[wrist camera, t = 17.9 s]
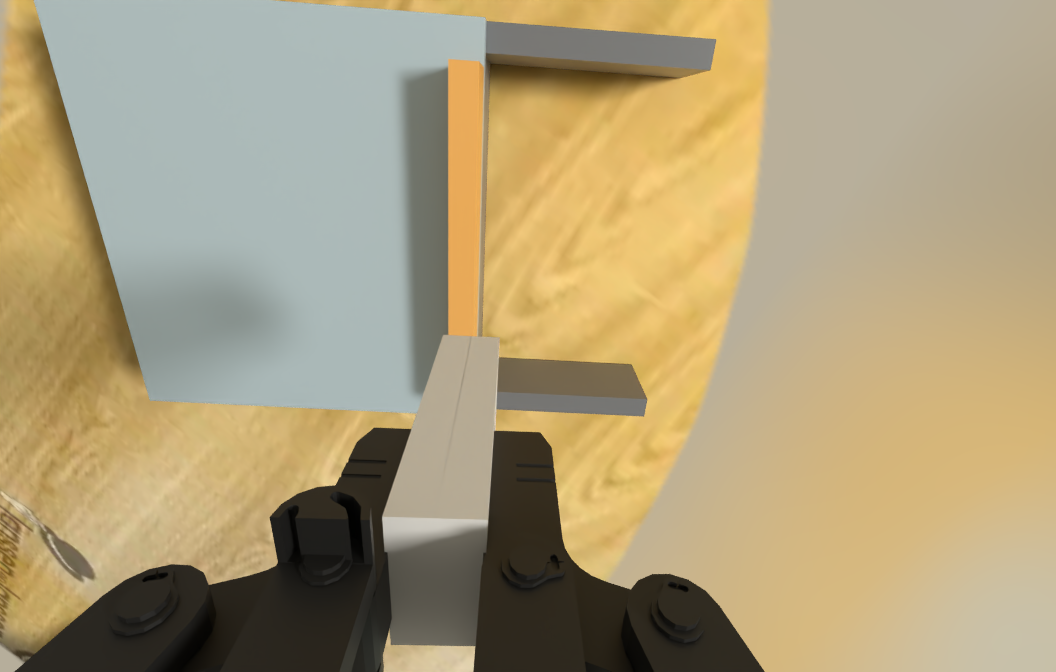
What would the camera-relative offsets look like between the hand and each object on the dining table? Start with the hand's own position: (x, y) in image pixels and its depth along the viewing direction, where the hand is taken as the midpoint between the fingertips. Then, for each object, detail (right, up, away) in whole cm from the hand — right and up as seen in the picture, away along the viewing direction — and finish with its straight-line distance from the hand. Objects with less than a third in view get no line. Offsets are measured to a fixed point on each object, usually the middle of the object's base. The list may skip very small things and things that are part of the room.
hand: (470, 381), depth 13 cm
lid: (-10, +6, +11) cm, 16 cm away
